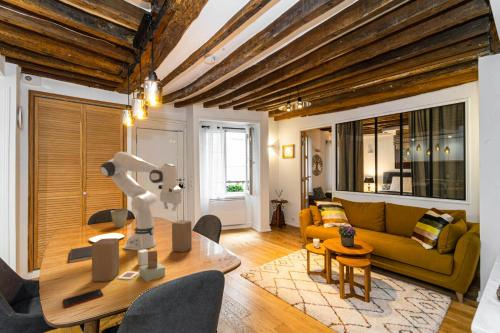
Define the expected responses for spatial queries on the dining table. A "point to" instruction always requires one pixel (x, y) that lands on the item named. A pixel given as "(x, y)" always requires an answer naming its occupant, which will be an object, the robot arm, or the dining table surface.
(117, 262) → the wooden block
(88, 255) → the hardcover book
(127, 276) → the card
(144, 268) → the base block
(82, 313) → the dining table surface
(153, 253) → the walnut block
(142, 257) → the off-white block
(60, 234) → the dining table surface
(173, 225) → the block
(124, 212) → the plant pot
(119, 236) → the plate
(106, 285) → the dining table surface
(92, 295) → the cell phone
